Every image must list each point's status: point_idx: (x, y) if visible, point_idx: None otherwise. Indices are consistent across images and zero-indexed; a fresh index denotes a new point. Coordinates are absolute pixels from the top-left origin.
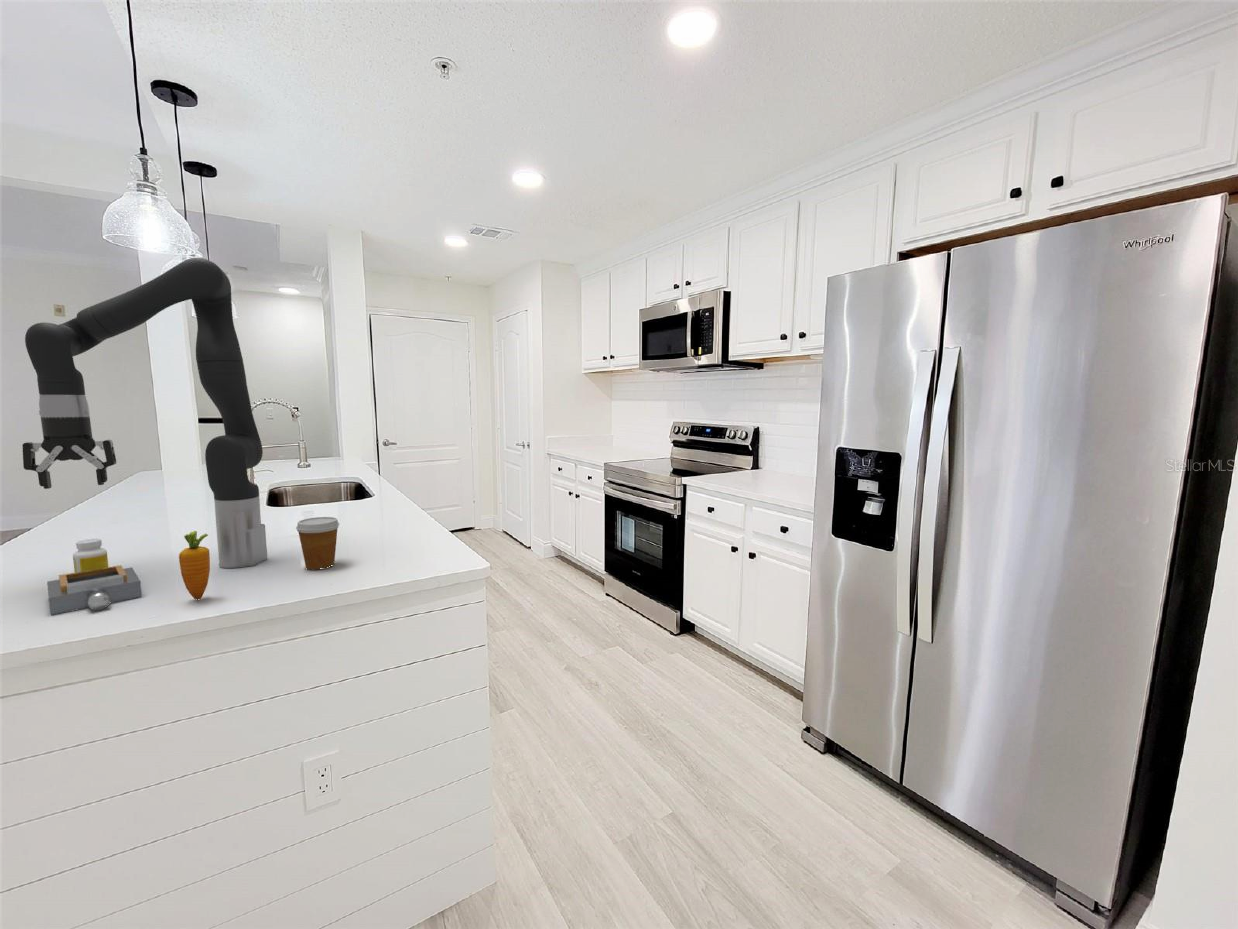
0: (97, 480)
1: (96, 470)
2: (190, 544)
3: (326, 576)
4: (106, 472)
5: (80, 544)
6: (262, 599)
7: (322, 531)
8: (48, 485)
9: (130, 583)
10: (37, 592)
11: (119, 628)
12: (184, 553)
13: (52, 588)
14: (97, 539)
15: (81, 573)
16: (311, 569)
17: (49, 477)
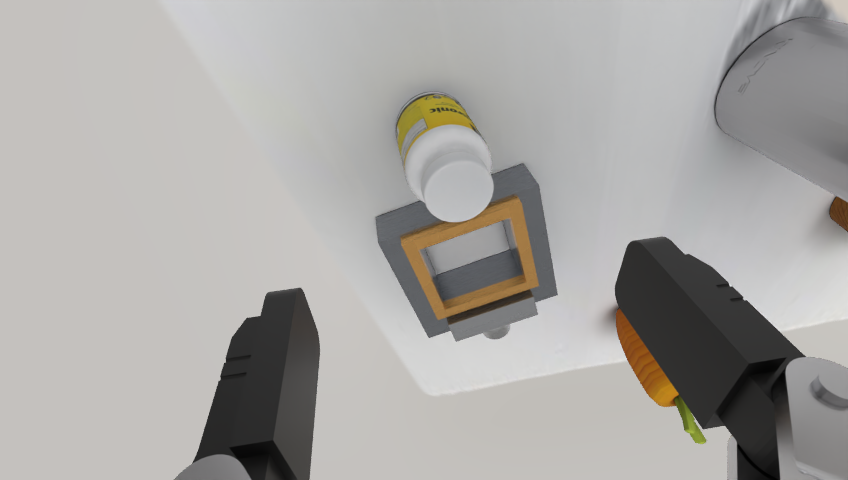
0: (636, 330)
1: (700, 420)
2: (681, 413)
3: (819, 260)
4: (766, 328)
5: (442, 219)
6: None
7: None
8: (314, 353)
9: (541, 299)
10: (326, 164)
11: (524, 370)
12: (659, 404)
13: (412, 293)
14: (482, 180)
15: (445, 239)
16: (832, 218)
17: (293, 385)
